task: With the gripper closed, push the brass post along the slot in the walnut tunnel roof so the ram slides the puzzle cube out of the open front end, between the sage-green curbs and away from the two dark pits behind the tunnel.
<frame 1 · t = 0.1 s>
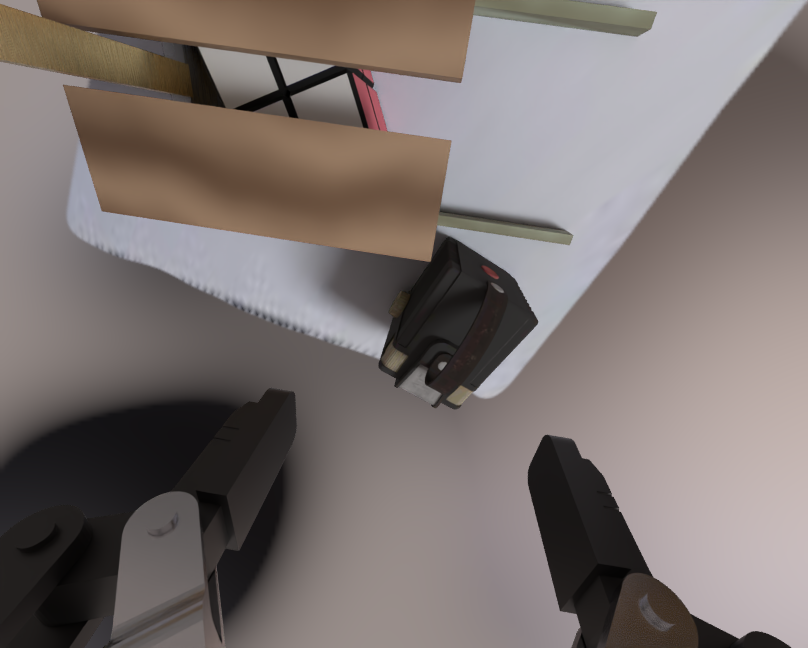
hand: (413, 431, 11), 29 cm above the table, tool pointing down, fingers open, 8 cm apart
ram: (155, 73, 23), point 11 cm above the table, slide at 0.0 cm
tunnel: (327, 107, 32), on the table
puzzle cube: (328, 107, 32), on the table
camera: (446, 298, 40), on the table
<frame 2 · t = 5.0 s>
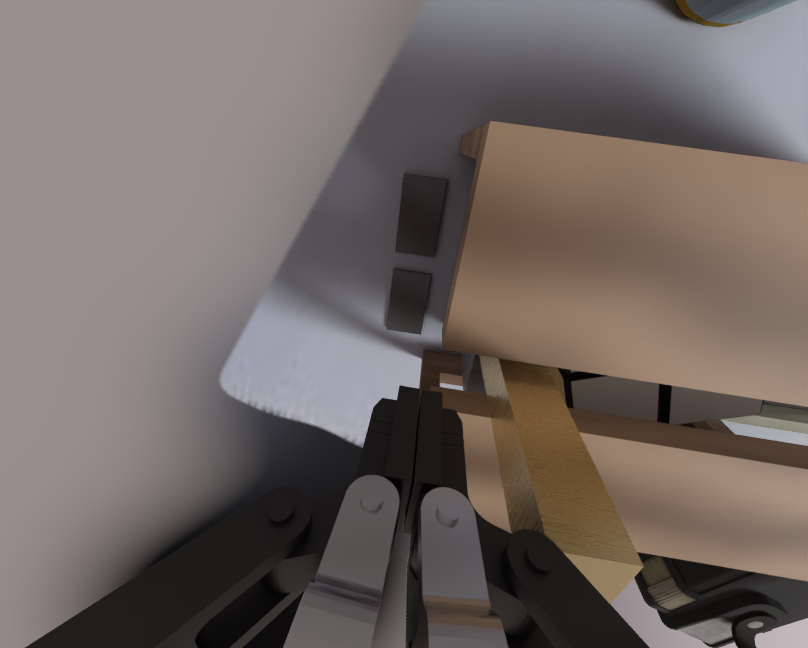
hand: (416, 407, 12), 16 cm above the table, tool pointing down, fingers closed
ram: (504, 344, 16), point 11 cm above the table, slide at 0.2 cm, touching gripper
tunnel: (591, 288, 26), on the table
puzzle cube: (589, 287, 26), on the table
camera: (667, 469, 34), on the table
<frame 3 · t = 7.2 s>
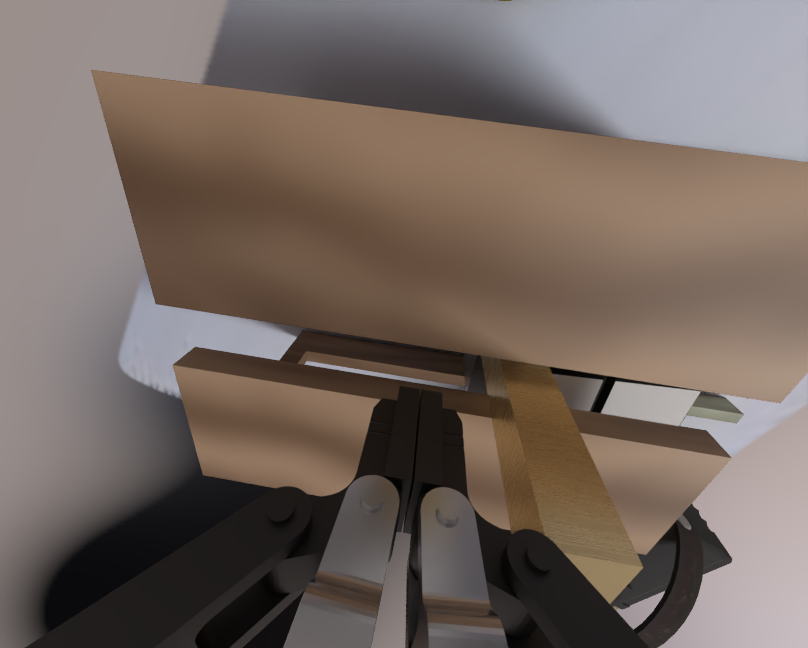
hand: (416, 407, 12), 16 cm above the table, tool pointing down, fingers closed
ram: (505, 344, 16), point 11 cm above the table, slide at 11.7 cm, touching gripper
tunnel: (447, 267, 26), on the table
puzzle cube: (555, 298, 26), on the table
camera: (559, 451, 34), on the table
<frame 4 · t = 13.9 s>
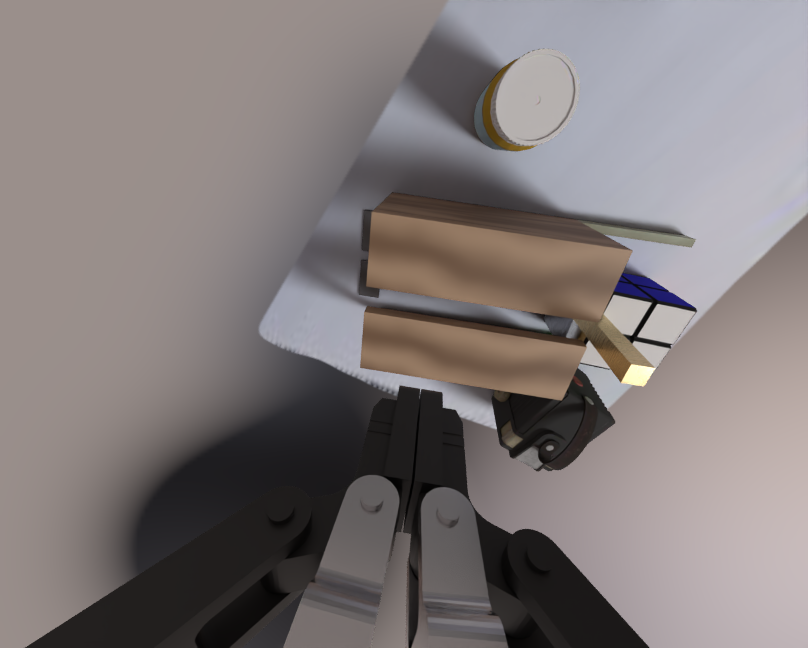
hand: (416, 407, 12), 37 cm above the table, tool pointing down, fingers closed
ram: (590, 320, 37), point 11 cm above the table, slide at 22.0 cm
bottle: (503, 115, 38), on the table
tunnel: (468, 271, 47), on the table
puzzle cube: (597, 302, 48), on the table
camera: (532, 384, 56), on the table
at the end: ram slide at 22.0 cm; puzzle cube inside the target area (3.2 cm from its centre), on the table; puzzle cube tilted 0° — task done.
